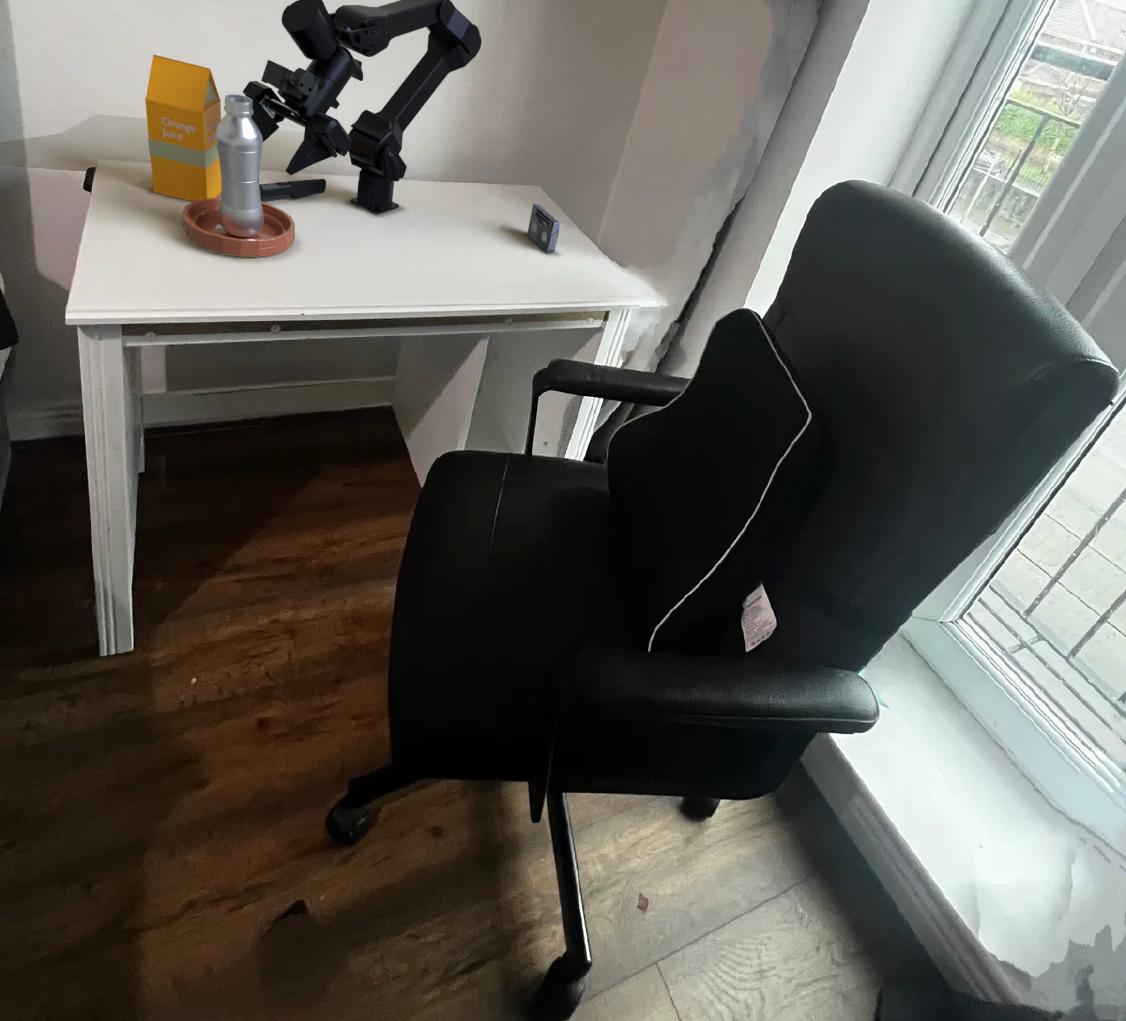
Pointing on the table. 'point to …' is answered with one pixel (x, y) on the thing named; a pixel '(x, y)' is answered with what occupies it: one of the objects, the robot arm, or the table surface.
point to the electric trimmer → (292, 189)
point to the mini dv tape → (543, 229)
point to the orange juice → (183, 130)
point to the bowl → (209, 234)
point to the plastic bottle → (239, 168)
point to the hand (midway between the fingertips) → (266, 162)
